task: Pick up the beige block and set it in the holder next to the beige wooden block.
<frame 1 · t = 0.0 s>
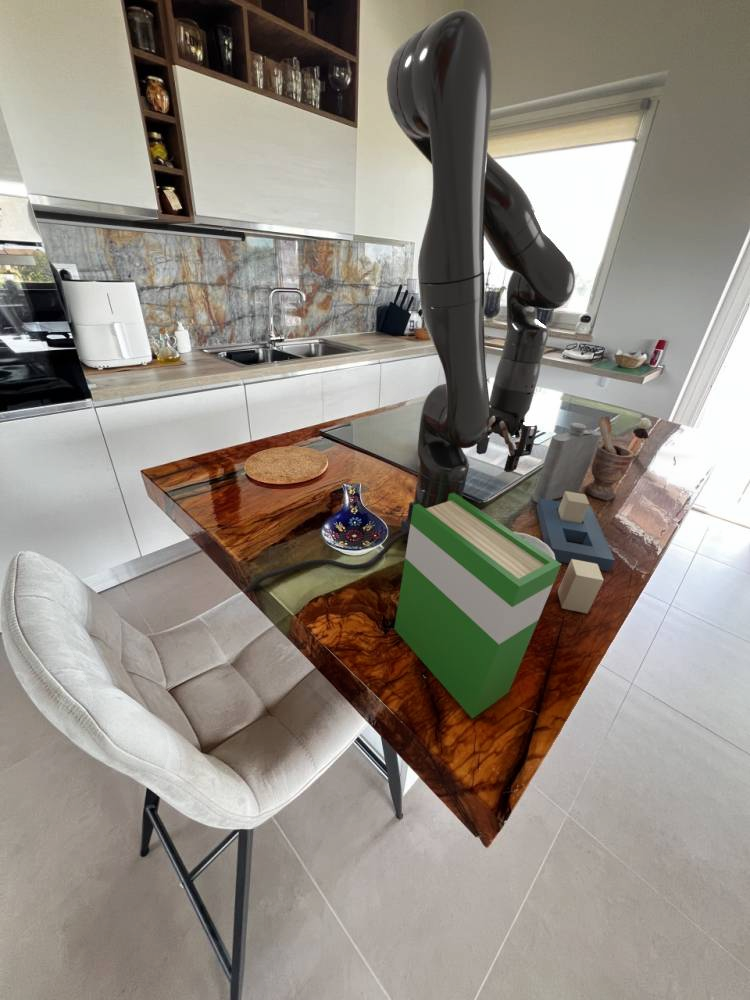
hand: (494, 461, 85), 17 cm above the kitchen island, tool pointing down, fingers open, 8 cm apart
beige wooden block: (565, 526, 98), resting in holder
grandmother figurine: (631, 454, 141), on the kitchen island
mortar and pestle: (592, 491, 115), on the kitchen island
holder: (569, 536, 95), on the kitchen island
plastic cup: (504, 603, 75), on the kitchen island
hip flask: (554, 496, 111), on the kitchen island
hardback book: (447, 659, 63), on the kitchen island
beige block: (572, 602, 76), on the kitchen island
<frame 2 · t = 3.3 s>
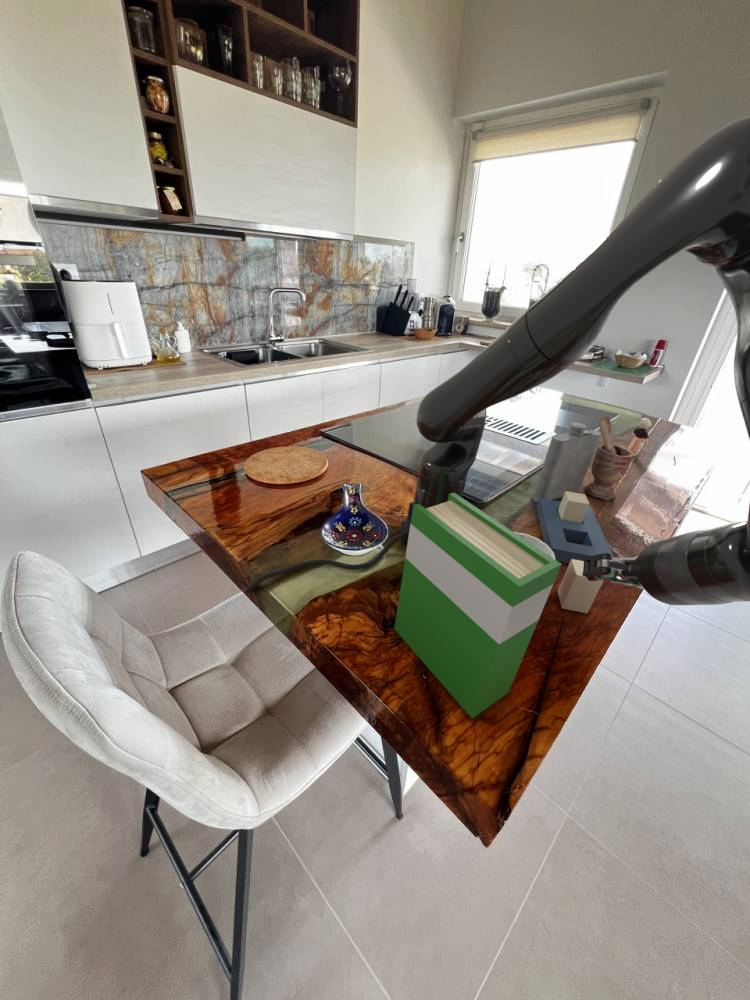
hand: (620, 579, 60), 15 cm above the kitchen island, tool tilted 45°, fingers open, 8 cm apart
nothing on the kitchen island moved.
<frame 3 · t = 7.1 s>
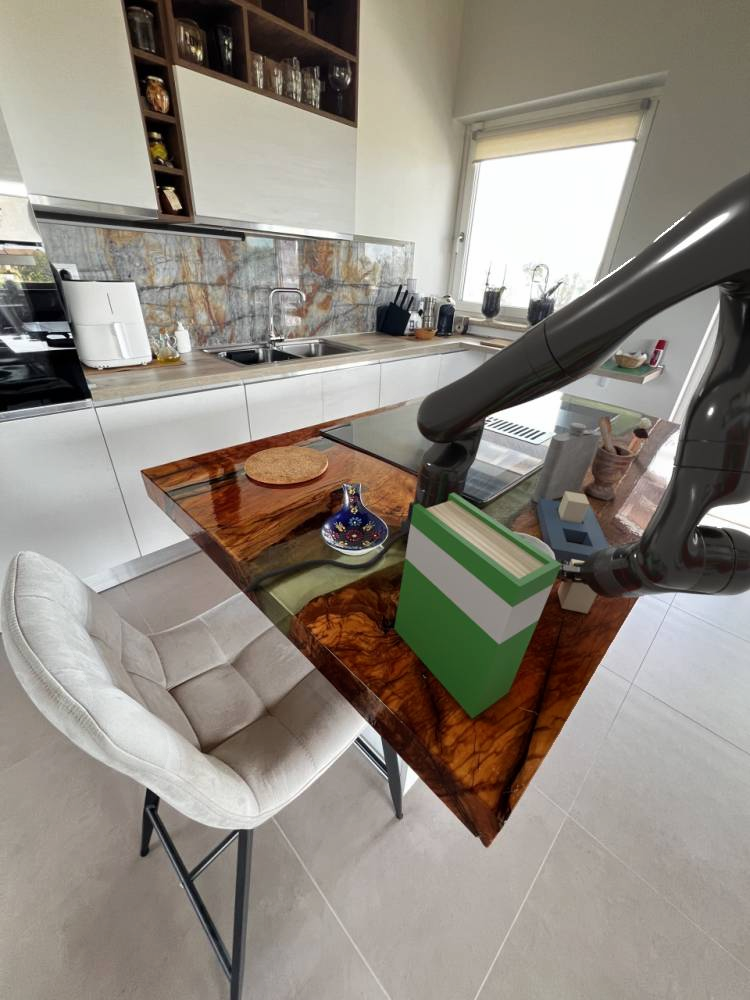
hand: (577, 578, 76), 4 cm above the kitchen island, tool tilted 45°, fingers closed on beige block, 4 cm apart
beige block: (572, 602, 76), on the kitchen island, touching gripper
everything else where it was.
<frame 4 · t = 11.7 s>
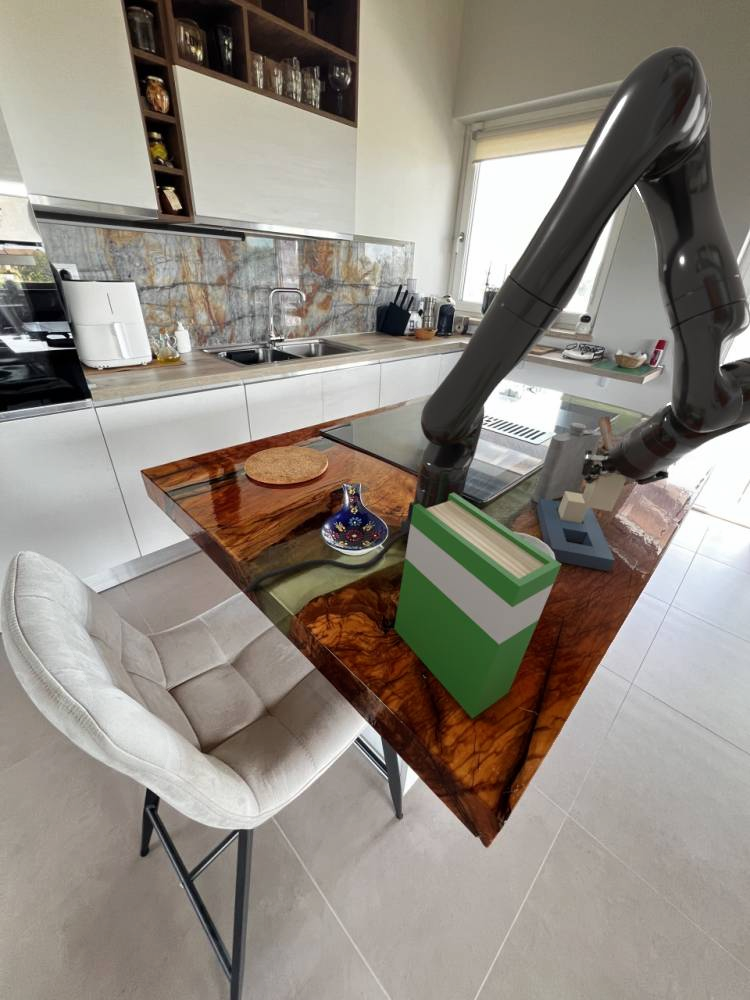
hand: (601, 480, 80), 18 cm above the kitchen island, tool tilted 45°, fingers closed on beige block, 4 cm apart
beige block: (596, 503, 80), point 14 cm above the kitchen island, touching gripper
everything else where it was.
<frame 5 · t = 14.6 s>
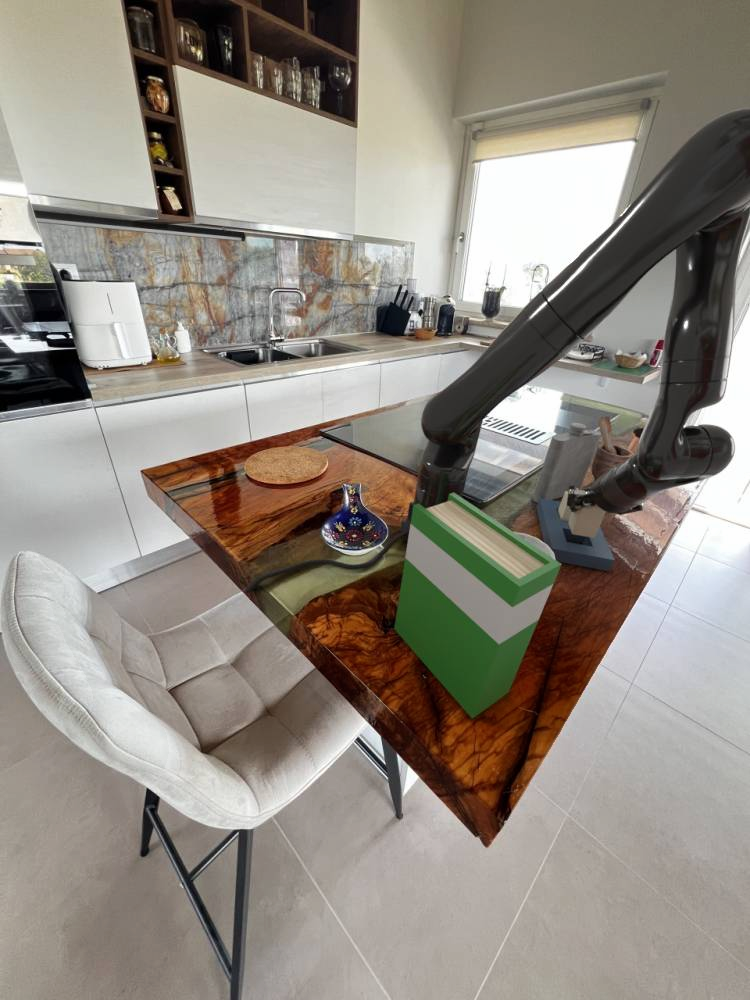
hand: (585, 509, 88), 9 cm above the kitchen island, tool tilted 45°, fingers closed on beige block, 4 cm apart
beige block: (581, 530, 88), point 5 cm above the kitchen island, touching gripper
everything else where it was.
when the fingers open (4 cm above the kitchen island, at t = 16.5 s): beige block stays where it is, resting in holder.
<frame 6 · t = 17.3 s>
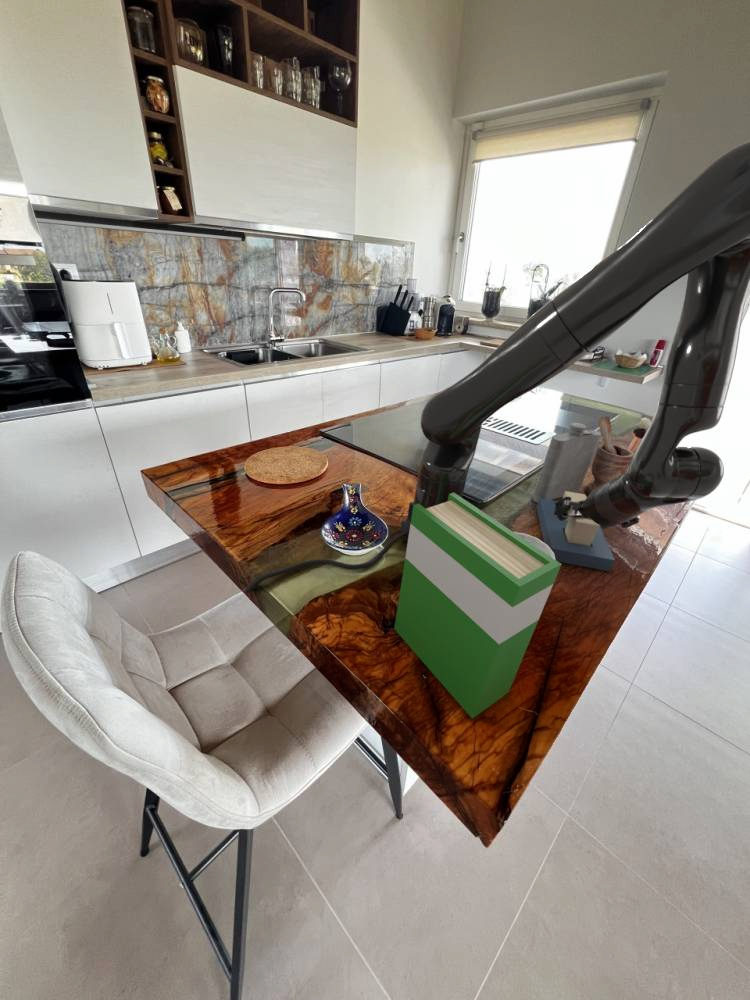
hand: (581, 519, 88), 7 cm above the kitchen island, tool tilted 45°, fingers open, 8 cm apart
beige block: (573, 548, 91), resting in holder
everything else where it was.
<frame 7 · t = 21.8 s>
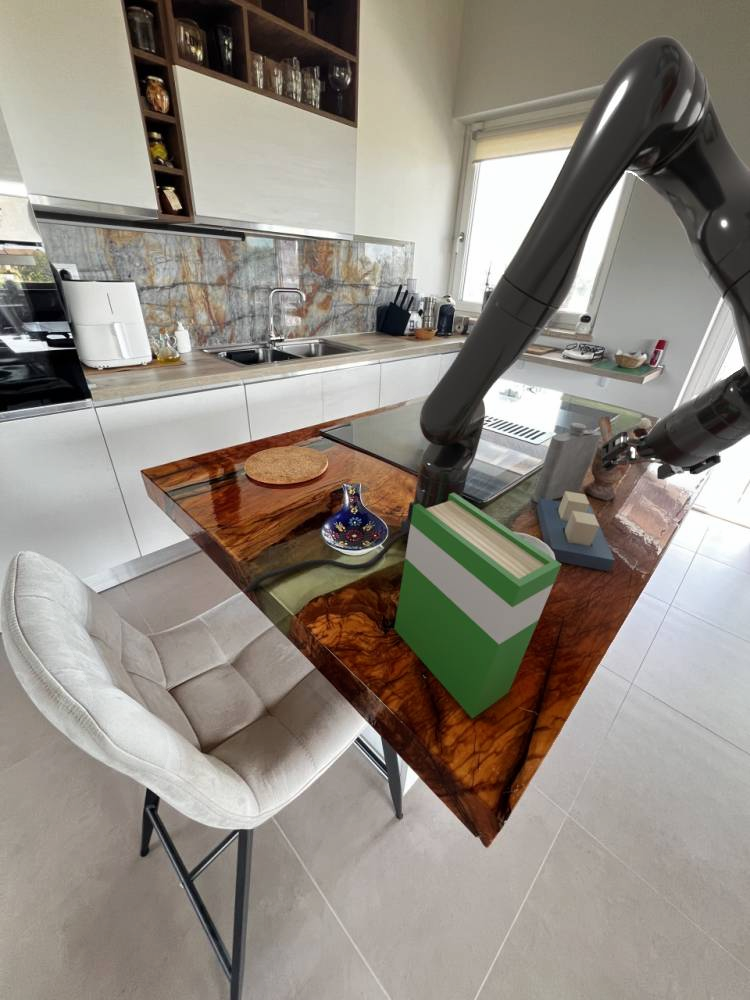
hand: (632, 469, 69), 25 cm above the kitchen island, tool tilted 45°, fingers open, 8 cm apart
nothing on the kitchen island moved.
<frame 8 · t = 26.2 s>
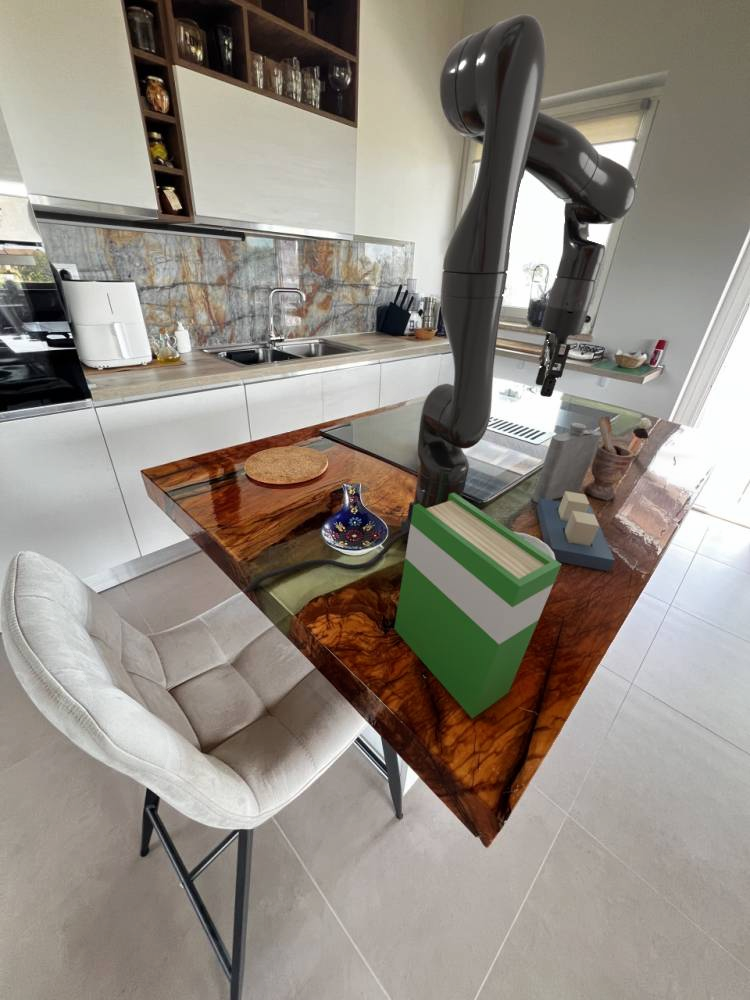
hand: (542, 390, 87), 30 cm above the kitchen island, tool pointing down, fingers open, 8 cm apart
nothing on the kitchen island moved.
at the end: beige block 0.1 cm from the target spot in the holder, point 0.0 cm above the holder's base; beige block tilted 0°; beige wooden block moved 0.0 cm from its start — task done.
